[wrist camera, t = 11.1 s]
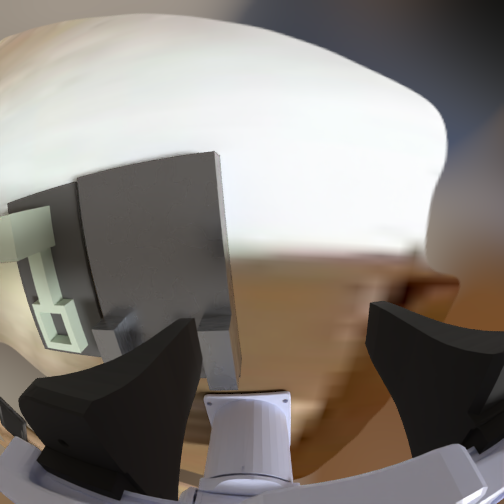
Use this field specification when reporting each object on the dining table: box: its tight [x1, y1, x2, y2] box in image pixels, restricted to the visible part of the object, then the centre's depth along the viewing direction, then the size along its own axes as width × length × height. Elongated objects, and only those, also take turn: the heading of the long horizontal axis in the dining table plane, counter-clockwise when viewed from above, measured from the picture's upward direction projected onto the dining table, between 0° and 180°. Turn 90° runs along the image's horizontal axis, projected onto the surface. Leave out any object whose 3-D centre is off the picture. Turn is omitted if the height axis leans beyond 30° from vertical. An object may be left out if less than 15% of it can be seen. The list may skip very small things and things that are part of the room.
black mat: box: [8, 182, 103, 357], centre depth 20 cm, size 16×10×1 cm, turn 5°
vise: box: [77, 151, 242, 390], centre depth 17 cm, size 16×10×6 cm, turn 5°
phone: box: [0, 397, 27, 442], centre depth 29 cm, size 8×1×15 cm
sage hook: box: [0, 206, 88, 353], centre depth 18 cm, size 13×5×5 cm, turn 4°
